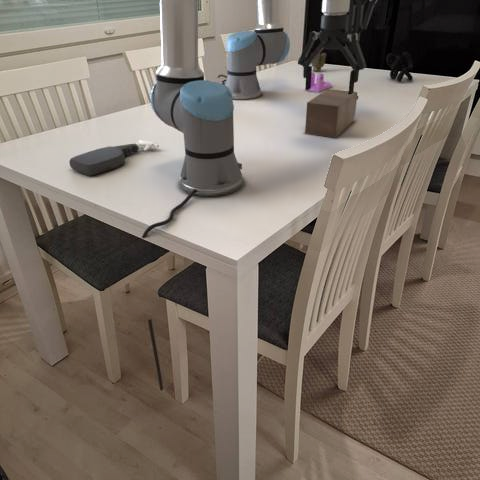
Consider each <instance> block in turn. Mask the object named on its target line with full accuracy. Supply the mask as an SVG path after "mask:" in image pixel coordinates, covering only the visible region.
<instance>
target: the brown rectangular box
mask: <svg viewBox="0 0 480 480" xmlns="http://www.w3.org/2000/svg"><path fill="white" fill-rule="evenodd" d="M348 92H349V90H341V89H332V88H327V89H325V90H323V91H321V92H320V93H319V94H318V95H316V96H315V97H313V98H312V99H310V100H309V101H306V113H305V129H304V134H307V135H313V136H320V137H327V138H332V139H336V138H338V136H339V135H341V134H342V133H343V132H344V131H345V130H346V129H348V127H349V126H350V125H352V124H353V122H355V121H354V120H355V116H354V113H355V114H356V110H355V105H356V106H357V102H356V96H358V94H357V93H358V92H357V91H354V92H353V93H352V94H351V95H349V94H348Z"/></svg>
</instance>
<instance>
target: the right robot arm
mask: <svg viewBox="0 0 480 480" xmlns="http://www.w3.org/2000/svg"><path fill="white" fill-rule="evenodd" d="M367 1H368V0H350V5H349V12H348V16H349V17H348V28H347V33H348V34H354V33H358V42H359V43H360V37H361V32H362V31H365V30H367V28H368V25H369V23H370V20H371V17H372V14H373V11H374V9H375V5H376V4H377V2H378V1H379V0H369V3H368V6H367V9H366V12H365V14H364V9H365V3H366V2H367ZM356 8H357V9H356ZM256 12H257V13H256V14H257V24H256V26H255V27H254V30H244V31H243V30H242V31H237V32H233V33H231V34H230V35H228V36H227V38H226V47H225V50H226V70H227V71H226V72H227V75H225V74H218V76H217V79H220V77H221V78H225V79H224V80H222V81H221V84H223V85H225V86H227V87H228V88H229V89H230V91H231V93H232V98H233V100H252V99H256V98H259V97H260V96H261V94H262V89H261V86H260V83H259V79H258V76H257V75H258V74H257V67H260V66H266V65H275V64H278V63H281V62H283V61H285V59H286V58H287V56H288V55H289V52H290V48H291V42H290V37H289V35H288V33H287V32H286V31H284V26H283V25H282V24H281V23H280V0H256ZM355 15H356V20H355ZM363 16H364V18H363ZM354 25H355V27H354ZM354 28H355V29H354ZM346 43H348V49H349V51H350V52H351V54H352V55H355V53H354V50H353V47H352V42H350V41H349V39H347V40H346Z"/></svg>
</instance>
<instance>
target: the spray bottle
mask: <svg viewBox="0 0 480 480" xmlns="http://www.w3.org/2000/svg"><path fill="white" fill-rule="evenodd" d="M159 148H160V145H159V144H158V143H155V142H151V141H148V140H144V139H139V140H138V141H137V142H135V143H129V144H128V143H126V144H122V145H113V146H105V147H100V148H97V149H94V150H90V151H87V152H83V153H81V154H78V155H74V156H73V157H70V159H69V161H68V162H69V167H70V168H71V169H72V170H74V171H75V172H78V173H81V174H83V175H85V176H89V177H90V176H91V177H92V176H95V175H99V174H102V173H105V172H107V171H110V170H113V169H116V168H118V167H120V166H122V165H123V164H124V163H125V158H126V156H127V155H131V154H133V153H138V151H140V150H143V151H144V152H146V151H147V150H149V149H159Z"/></svg>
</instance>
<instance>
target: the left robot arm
mask: <svg viewBox="0 0 480 480" xmlns="http://www.w3.org/2000/svg"><path fill="white" fill-rule="evenodd" d="M321 1H322V2H321V12H322V13H323V14H322V15H321V16H320V31H319V32H317V31H315V30H313V31H311V32H309V34H308V40H307V42H306V44H305V47H304V48H303V51H302V52H301V55H300V56H299V58H298V60H297V65H299V66H302V67H303V71H302V74H303V75H302V78H303V79H305V88H304V90H305V91H308V90H309V89H310V88H311V75H312V72H313V66H312V64H311V63H312V62H313V60H314V59H315V58H316V57H317V56H318V55H319V53H320V54H321V53H322V51H323V50H333V51H338V50H339V51H340V53H341V54H342V55H343V57H344V58H345V60H346V61H347V63H348V64H349V66H350V67H351V69H352V70H351V71H350V73H349V74H350V75H349V83H348V91H349V92H348V94H349V95H351V94H352V93H353V92H355V84H356V83H357V82H358V81H359V76H360V71H362V70H364V69H365V68H367V63H366V59H365V57H364V54H363V51H362V48H361V46H360V41H359V42H358V33H354V34H348V33H347V28H348V18H349V5H350V0H321ZM159 12H160V14H159V15H160V16H159V17H160V40H161V41H160V44H161V45H160V46H161V66H160V67H159V68H158V69H157V70H156V71H155V84H154V85H153V86H152V87H151V90H150V98H149V100H150V105H151V109H152V111H153V113H154V114H155V115H156V117H157V118H158V119H159V120H160V121H161V122H163V124H165V125H166V126H169V127H172V128H174V129H175V130H177V131H178V132H180V133H182V134H183V141H184V142H183V143H184V154H185V155H184V158H183V164H182V168H181V171H180V176H179V183H180V184H179V185H180V188H181V189H182V191H184V192H186V193H187V194H188V195H187V196H186V197H185V199H184V200H183V201H181V203H179V204H177V205H176V206H175V207H173V208H172V209H171V210H170V213H169V217H168V218H167V219H165V220H163V221H159V222H156V223H153V224H151V225H149V226H148V227H147V228H146V229H145V230H144V232H143V234H142V236H141V239H145V238H147V236H148V234H149V233H150V231H152V230H153V229H155V228H159V227H162V226H165V225H168V224H170V222H172V221H173V218H174V216H175V215H174V214H175V213H176V212H177V211H178V210H180V209H181V208H183V207H184V206H185V205H186V204H187V203H188V202H189V200H190V199H192V197H193V196H199V197H221V196H224V195H229V194H232V193H234V192H235V191H237V190H239V189H240V188H241V187H242V185H243V174H242V171H241V170H243V163H242V162H241V163H240V162H238V160H237V157H236V154H235V132H234V131H235V130H234V127H235V126H234V110H235V105H234V99H233V98H232V93H231V91H230V89H229V88H228V87H227V86H225V85H224V84H222V82H219V81H211V80H205V72H204V71H203V70H202V69H201V68H200V66H199V0H159ZM318 39H319V41H320V43H319V44H318V46H317V47H316V48H315V50H313V52H312V55H311V54H310V55H309V53H310V51H311V50H312V48H313V46H314V43H315V41H317V40H318ZM347 39H349V41H350V42H352V47H353V50H354V54H351V52H350V51H349V46H348V45H347ZM308 56H309V57H308ZM354 56H355V57H354ZM355 58H356V59H355ZM147 323H148V329H149V335H150V339H151V344H152V346H151V347H152V351H153V355H154V360H155V367H156V372H157V377H158V378H157V380H158V385H159V390H160V391H163V390H164V385H163V379H162V372H161V365H160V360H159V355H158V350H157V343H156V339H155V332H154V326H153V321H152V318H150V319H148V320H147Z"/></svg>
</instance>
